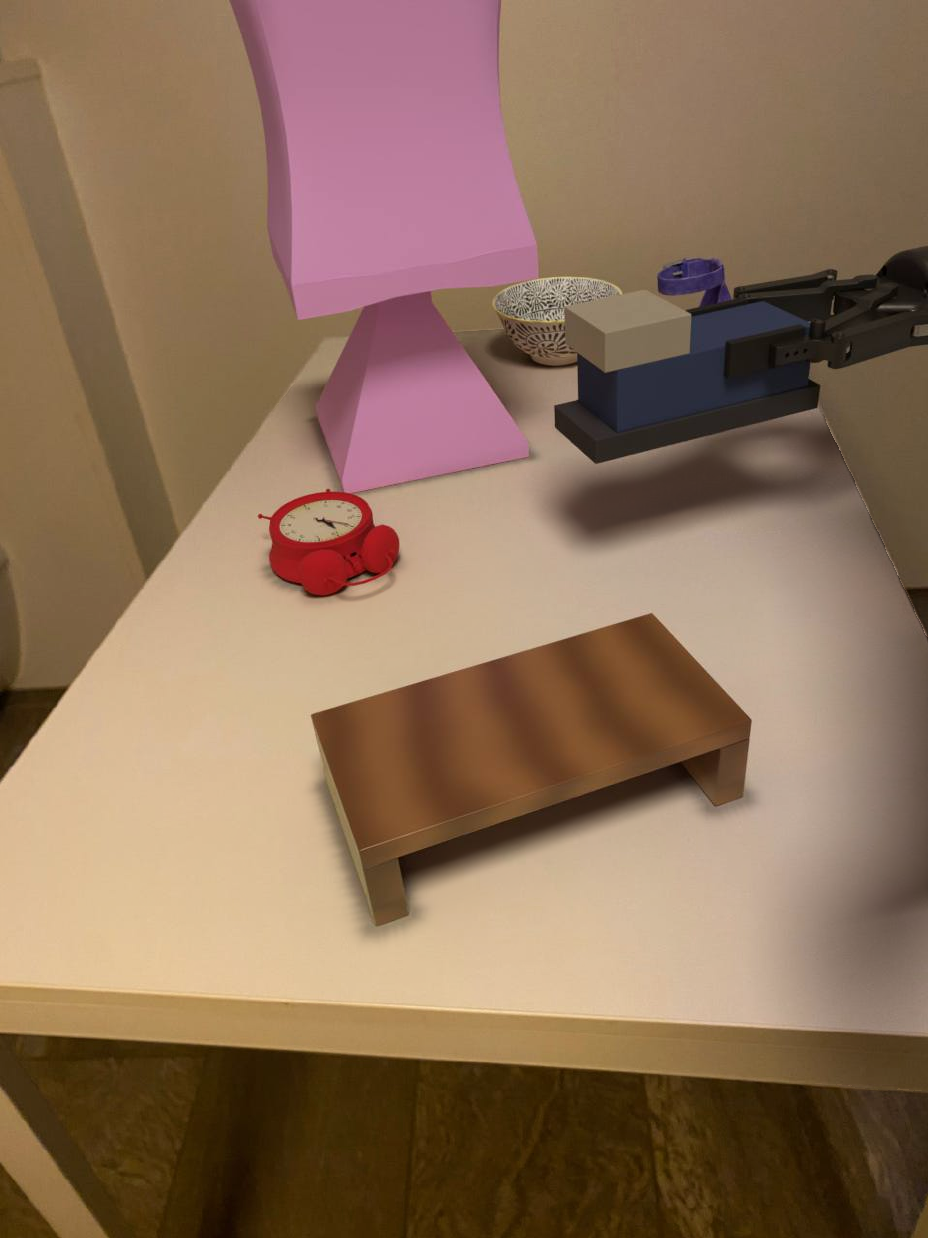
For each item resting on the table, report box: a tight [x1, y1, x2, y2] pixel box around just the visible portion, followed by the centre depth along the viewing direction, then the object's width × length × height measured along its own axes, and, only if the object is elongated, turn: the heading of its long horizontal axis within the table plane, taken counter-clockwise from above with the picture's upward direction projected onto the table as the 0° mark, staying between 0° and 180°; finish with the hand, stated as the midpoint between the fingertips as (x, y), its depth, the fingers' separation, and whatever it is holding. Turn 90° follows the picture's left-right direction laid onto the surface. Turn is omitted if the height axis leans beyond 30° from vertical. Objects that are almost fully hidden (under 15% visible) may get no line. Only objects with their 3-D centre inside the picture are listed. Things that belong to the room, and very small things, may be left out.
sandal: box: [656, 257, 733, 307], centre depth 102 cm, size 8×20×15 cm, turn 100°
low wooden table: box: [310, 612, 753, 927], centre depth 60 cm, size 24×12×6 cm, turn 110°
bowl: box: [491, 276, 623, 367], centre depth 120 cm, size 16×16×8 cm
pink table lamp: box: [229, 0, 540, 494], centre depth 93 cm, size 22×22×45 cm
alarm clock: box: [257, 488, 400, 596], centre depth 85 cm, size 10×6×15 cm
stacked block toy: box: [553, 289, 821, 465], centre depth 76 cm, size 20×8×10 cm, turn 110°
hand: (700, 344), depth 76 cm, fingers closed on stacked block toy, 7 cm apart
